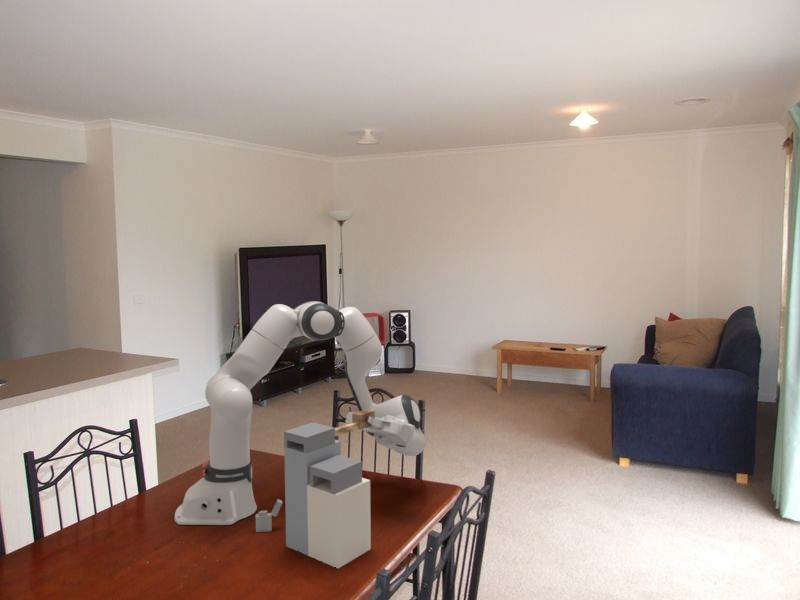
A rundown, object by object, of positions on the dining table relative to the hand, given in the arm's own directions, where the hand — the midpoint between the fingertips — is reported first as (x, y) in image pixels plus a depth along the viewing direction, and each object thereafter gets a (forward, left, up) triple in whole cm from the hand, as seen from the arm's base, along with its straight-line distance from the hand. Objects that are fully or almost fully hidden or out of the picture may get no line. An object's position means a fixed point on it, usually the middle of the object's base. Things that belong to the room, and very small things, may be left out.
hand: (361, 417), depth 177 cm
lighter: (-26, -3, -29) cm, 39 cm away
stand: (-11, -16, -29) cm, 35 cm away
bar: (-4, -3, -2) cm, 5 cm away
